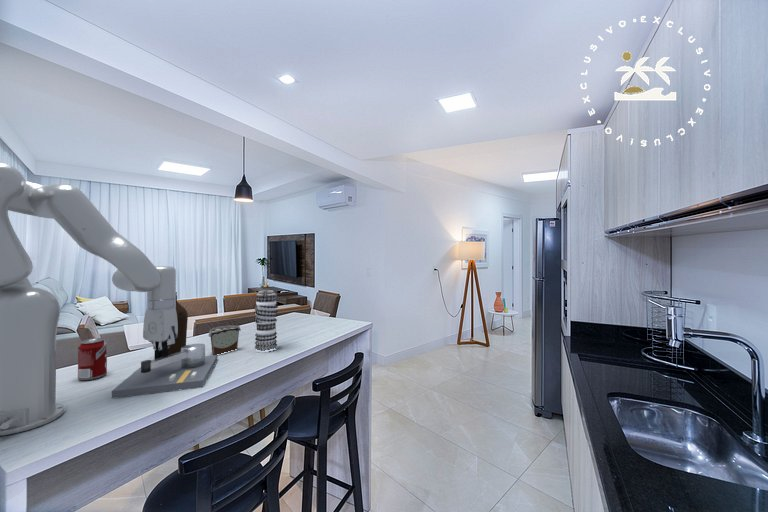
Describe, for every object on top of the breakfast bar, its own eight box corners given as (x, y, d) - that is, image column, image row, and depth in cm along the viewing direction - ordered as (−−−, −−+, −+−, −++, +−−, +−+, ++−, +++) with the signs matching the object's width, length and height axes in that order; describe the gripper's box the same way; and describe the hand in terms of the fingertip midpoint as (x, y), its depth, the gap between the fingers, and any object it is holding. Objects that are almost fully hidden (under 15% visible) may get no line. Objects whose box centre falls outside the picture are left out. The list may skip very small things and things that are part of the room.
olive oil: (192, 350, 126) (192, 290, 126) (179, 359, 115) (180, 293, 116) (163, 352, 124) (164, 291, 124) (148, 361, 114) (149, 294, 114)
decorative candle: (282, 348, 130) (282, 289, 130) (265, 354, 122) (266, 292, 122) (266, 345, 134) (266, 288, 134) (249, 351, 126) (249, 291, 126)
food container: (233, 346, 132) (233, 323, 132) (240, 349, 128) (240, 325, 128) (202, 354, 122) (202, 329, 122) (209, 357, 118) (210, 331, 118)
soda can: (88, 382, 94) (89, 343, 94) (71, 380, 95) (72, 342, 95) (112, 374, 101) (112, 338, 101) (96, 372, 102) (96, 337, 102)
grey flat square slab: (202, 386, 91) (202, 376, 91) (111, 398, 84) (111, 387, 84) (217, 360, 115) (217, 352, 115) (147, 367, 107) (147, 358, 107)
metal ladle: (195, 359, 109) (195, 342, 109) (209, 361, 106) (209, 344, 106) (133, 380, 90) (133, 360, 90) (149, 383, 88) (149, 363, 88)
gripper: (133, 304, 97) (132, 362, 97) (166, 307, 92) (165, 368, 92) (157, 301, 104) (157, 355, 104) (189, 304, 99) (189, 360, 99)
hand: (161, 361), depth 98 cm, fingers closed
